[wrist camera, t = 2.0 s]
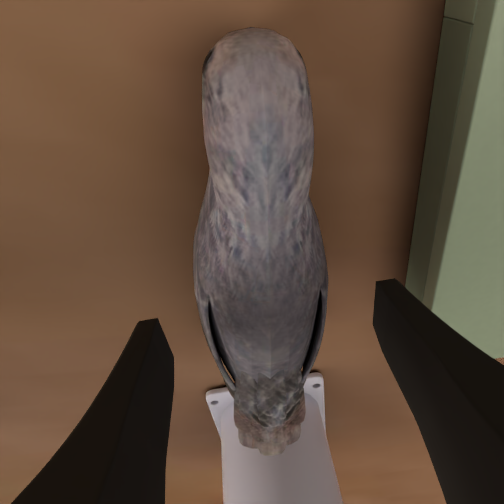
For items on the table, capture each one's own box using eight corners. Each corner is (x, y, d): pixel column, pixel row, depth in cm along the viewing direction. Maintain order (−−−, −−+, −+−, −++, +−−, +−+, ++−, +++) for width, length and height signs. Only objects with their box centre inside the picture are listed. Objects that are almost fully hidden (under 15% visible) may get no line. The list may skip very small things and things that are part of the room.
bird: (316, 9, 14) (403, 53, 8) (301, 322, 23) (334, 448, 18) (160, 19, 13) (125, 72, 7) (211, 332, 23) (213, 463, 17)
